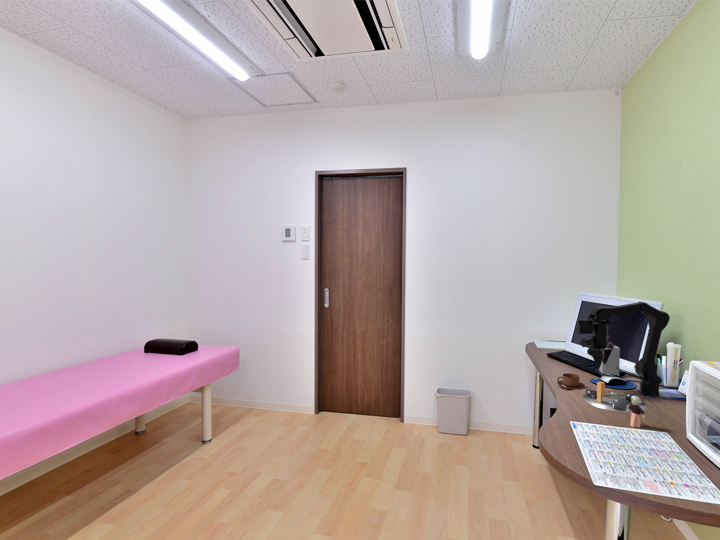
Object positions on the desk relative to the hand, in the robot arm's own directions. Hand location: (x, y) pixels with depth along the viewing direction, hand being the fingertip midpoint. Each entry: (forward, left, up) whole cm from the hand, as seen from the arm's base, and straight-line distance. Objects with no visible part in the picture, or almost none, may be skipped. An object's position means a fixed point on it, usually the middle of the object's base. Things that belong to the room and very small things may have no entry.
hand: (601, 366), depth 189 cm
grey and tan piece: (+1, +21, -11) cm, 23 cm away
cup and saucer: (+12, -4, -13) cm, 18 cm away
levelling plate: (-2, +14, -13) cm, 19 cm away
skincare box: (-11, -32, -13) cm, 36 cm away
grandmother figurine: (-3, +40, -13) cm, 42 cm away
